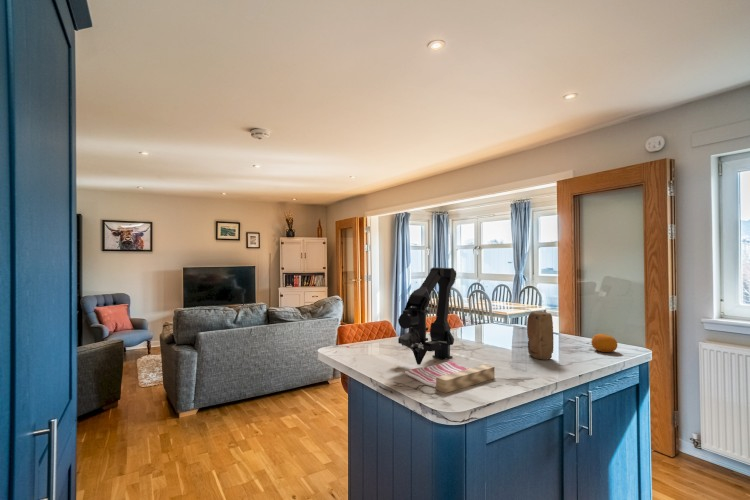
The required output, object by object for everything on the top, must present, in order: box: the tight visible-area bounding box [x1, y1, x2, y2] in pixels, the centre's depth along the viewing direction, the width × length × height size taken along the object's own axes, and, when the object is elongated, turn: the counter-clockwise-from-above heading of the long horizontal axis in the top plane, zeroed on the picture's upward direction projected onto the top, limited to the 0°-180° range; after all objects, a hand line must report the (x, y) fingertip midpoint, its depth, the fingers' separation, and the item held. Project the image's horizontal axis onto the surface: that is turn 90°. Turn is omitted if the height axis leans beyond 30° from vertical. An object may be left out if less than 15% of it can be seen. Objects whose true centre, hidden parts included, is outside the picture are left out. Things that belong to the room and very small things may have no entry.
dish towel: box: [404, 360, 471, 389], centre depth 139 cm, size 17×23×4 cm
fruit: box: [591, 333, 618, 353], centre depth 177 cm, size 10×10×8 cm
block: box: [526, 310, 554, 361], centre depth 166 cm, size 11×8×20 cm
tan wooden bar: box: [435, 364, 496, 394], centre depth 130 cm, size 26×4×4 cm, turn 127°
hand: (418, 364), depth 150 cm, fingers closed
